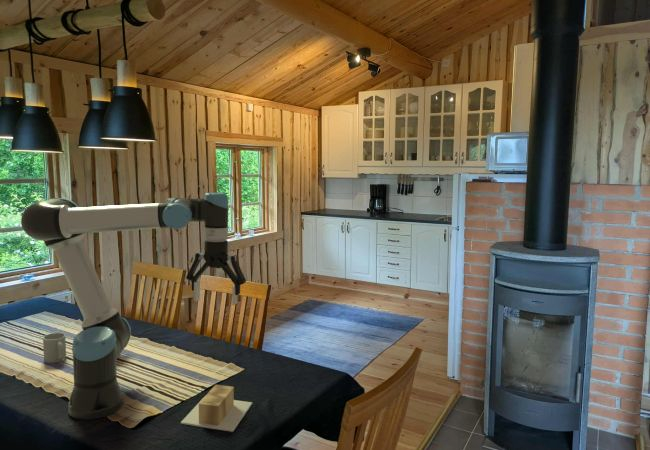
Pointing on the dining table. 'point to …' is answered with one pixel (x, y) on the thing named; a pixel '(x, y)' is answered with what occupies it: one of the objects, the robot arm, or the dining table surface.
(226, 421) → the cream square board
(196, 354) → the dining table surface
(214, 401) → the oak block
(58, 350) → the cup
